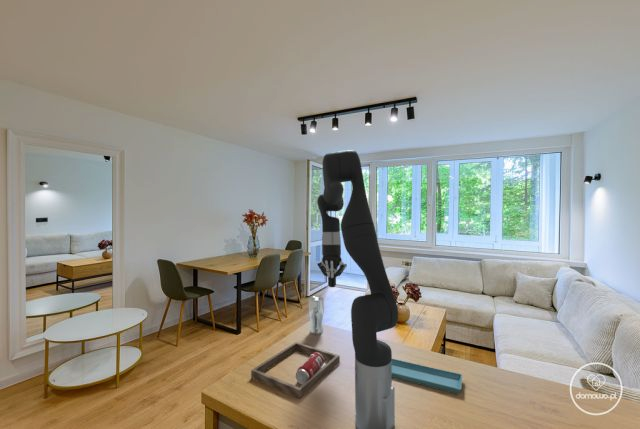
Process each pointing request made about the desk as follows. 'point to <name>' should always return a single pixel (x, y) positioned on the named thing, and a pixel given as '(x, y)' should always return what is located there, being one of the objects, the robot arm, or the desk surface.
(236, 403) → the desk surface
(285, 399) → the desk surface
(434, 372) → the shallow long dish
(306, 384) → the walnut frame
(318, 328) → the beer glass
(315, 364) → the soda can
